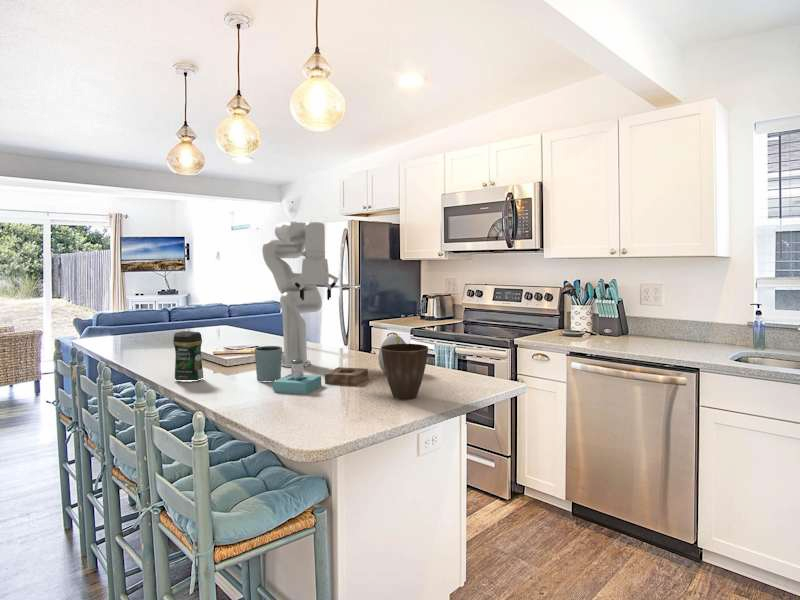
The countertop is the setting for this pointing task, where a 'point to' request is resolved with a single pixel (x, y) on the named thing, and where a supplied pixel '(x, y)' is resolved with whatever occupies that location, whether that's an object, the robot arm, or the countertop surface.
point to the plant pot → (404, 368)
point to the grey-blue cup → (268, 363)
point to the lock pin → (297, 369)
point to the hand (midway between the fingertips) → (315, 299)
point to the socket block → (297, 384)
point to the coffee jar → (188, 355)
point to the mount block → (346, 376)
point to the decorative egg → (388, 341)
